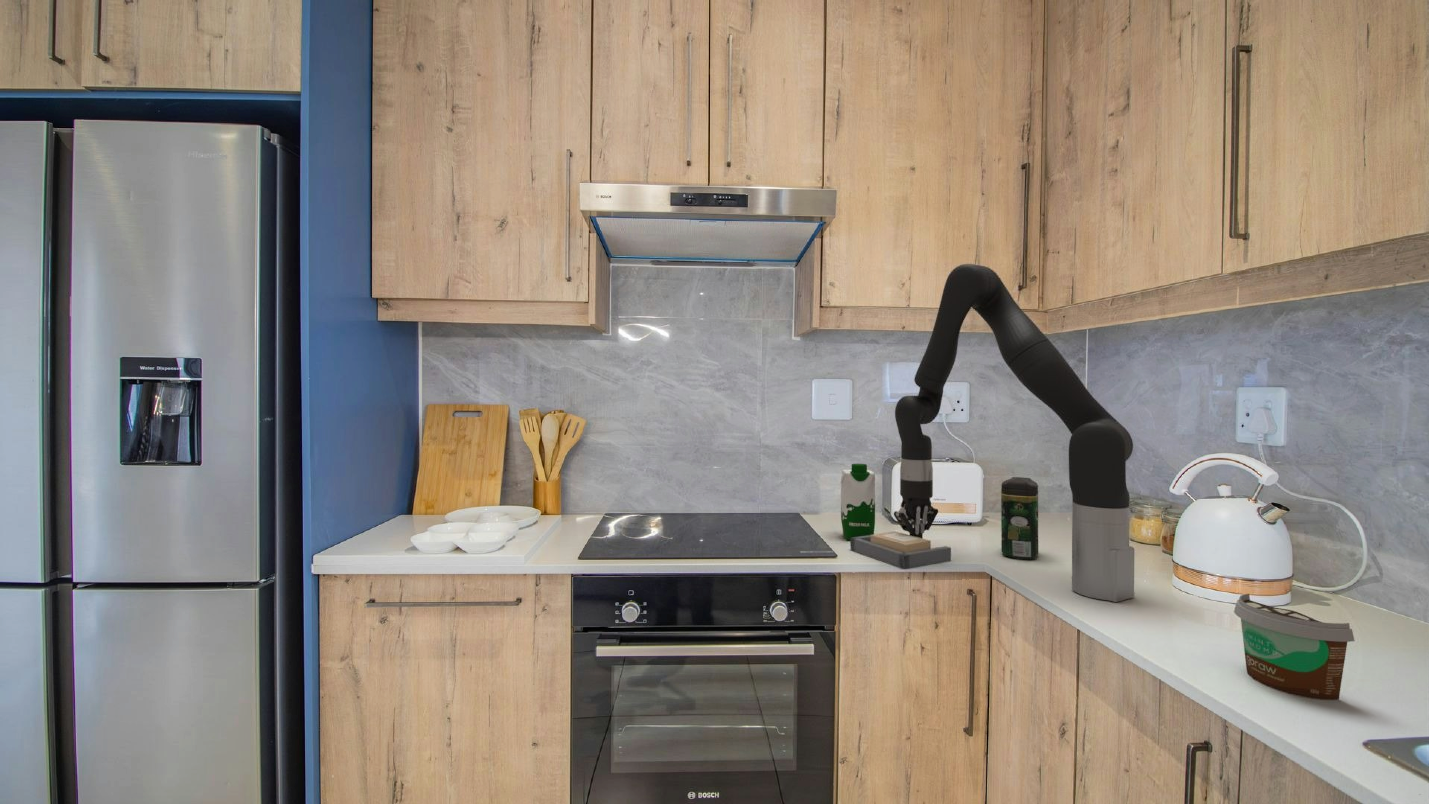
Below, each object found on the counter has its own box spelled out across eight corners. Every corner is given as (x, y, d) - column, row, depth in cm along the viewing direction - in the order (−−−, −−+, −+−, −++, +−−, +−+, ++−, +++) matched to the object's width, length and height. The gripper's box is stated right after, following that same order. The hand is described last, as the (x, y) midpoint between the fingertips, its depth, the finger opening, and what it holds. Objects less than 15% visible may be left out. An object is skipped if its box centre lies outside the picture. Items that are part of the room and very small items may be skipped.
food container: (1210, 665, 83) (1211, 595, 83) (1243, 661, 85) (1244, 592, 85) (1317, 711, 71) (1317, 629, 71) (1354, 705, 73) (1354, 624, 73)
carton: (930, 562, 136) (930, 539, 136) (906, 567, 132) (906, 544, 132) (894, 551, 146) (894, 530, 146) (870, 555, 142) (870, 534, 142)
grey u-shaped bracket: (950, 560, 136) (950, 547, 136) (904, 568, 130) (904, 555, 130) (894, 543, 152) (894, 531, 152) (850, 549, 146) (850, 537, 146)
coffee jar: (1003, 548, 147) (1003, 474, 147) (1039, 552, 143) (1039, 476, 143) (998, 557, 139) (998, 479, 139) (1036, 562, 135) (1037, 481, 135)
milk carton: (843, 541, 154) (843, 465, 154) (839, 533, 163) (839, 461, 163) (877, 542, 153) (877, 465, 153) (871, 534, 162) (871, 461, 162)
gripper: (907, 481, 137) (907, 555, 137) (948, 477, 143) (947, 548, 143) (884, 477, 144) (884, 548, 144) (924, 474, 150) (924, 542, 150)
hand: (916, 548), depth 143 cm, fingers closed
